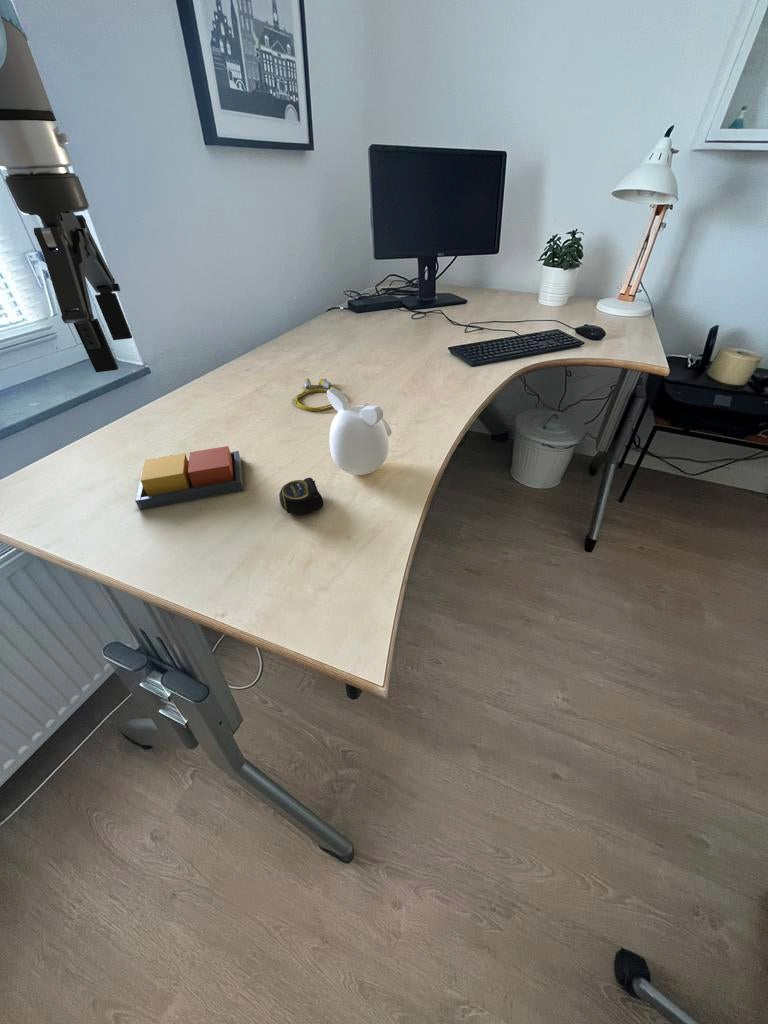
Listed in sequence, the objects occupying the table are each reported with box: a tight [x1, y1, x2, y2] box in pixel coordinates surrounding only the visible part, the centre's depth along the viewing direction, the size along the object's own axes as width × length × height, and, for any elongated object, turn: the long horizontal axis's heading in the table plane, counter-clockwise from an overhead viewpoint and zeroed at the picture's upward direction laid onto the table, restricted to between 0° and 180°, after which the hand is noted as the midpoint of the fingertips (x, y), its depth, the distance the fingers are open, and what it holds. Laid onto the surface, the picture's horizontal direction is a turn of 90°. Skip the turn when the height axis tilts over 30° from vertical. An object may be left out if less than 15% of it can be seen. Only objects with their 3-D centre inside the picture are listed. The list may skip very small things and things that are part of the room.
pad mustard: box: [139, 452, 191, 496], centre depth 79 cm, size 7×7×4 cm
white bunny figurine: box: [326, 387, 392, 476], centre depth 79 cm, size 12×12×15 cm
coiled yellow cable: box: [294, 378, 334, 412], centre depth 107 cm, size 12×16×2 cm
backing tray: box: [135, 450, 244, 511], centre depth 80 cm, size 18×11×2 cm, turn 107°
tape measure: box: [278, 477, 325, 516], centre depth 74 cm, size 7×7×4 cm
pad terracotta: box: [188, 445, 234, 488], centre depth 80 cm, size 7×7×4 cm
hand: (115, 353), depth 64 cm, fingers open, 13 cm apart
